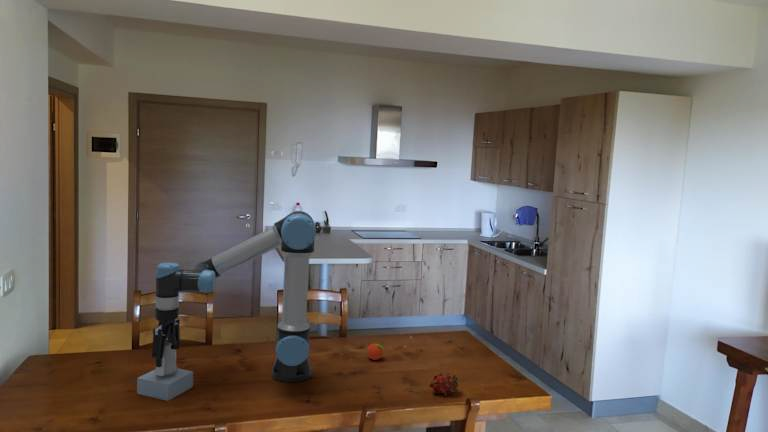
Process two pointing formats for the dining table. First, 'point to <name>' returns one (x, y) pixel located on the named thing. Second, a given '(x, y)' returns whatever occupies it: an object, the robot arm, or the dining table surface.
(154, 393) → the grey block
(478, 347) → the dining table surface
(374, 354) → the clementine
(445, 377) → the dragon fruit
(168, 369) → the flask
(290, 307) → the robot arm
